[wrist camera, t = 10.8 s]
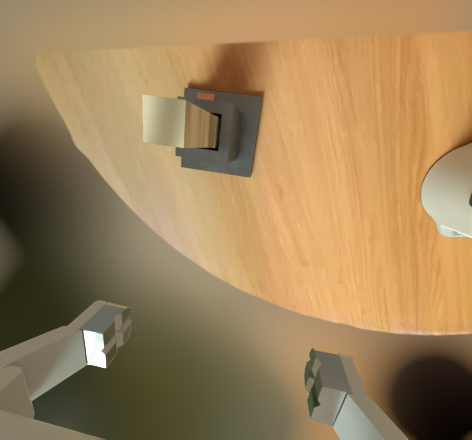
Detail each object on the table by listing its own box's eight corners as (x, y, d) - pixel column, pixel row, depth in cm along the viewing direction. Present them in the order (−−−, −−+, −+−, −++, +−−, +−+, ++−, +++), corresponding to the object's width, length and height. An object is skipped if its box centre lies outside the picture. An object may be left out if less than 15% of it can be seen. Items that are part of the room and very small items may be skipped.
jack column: (223, 119, 34) (186, 99, 19) (220, 147, 35) (184, 148, 20) (198, 116, 34) (142, 94, 19) (196, 144, 36) (142, 142, 21)
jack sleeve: (262, 98, 39) (259, 80, 29) (250, 176, 44) (244, 186, 33) (187, 89, 41) (157, 69, 30) (183, 166, 45) (156, 172, 35)
